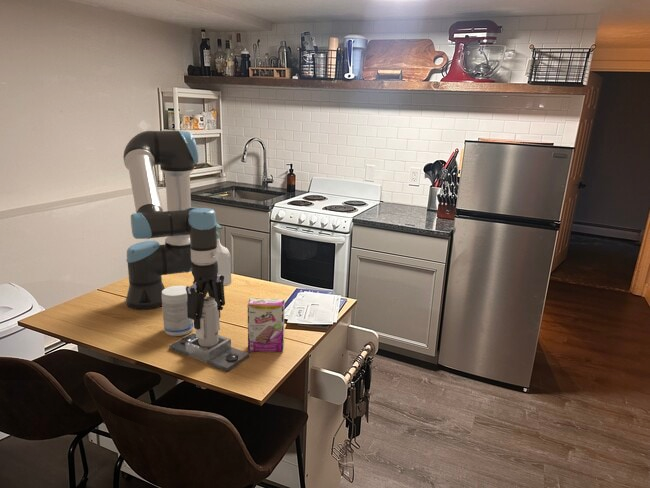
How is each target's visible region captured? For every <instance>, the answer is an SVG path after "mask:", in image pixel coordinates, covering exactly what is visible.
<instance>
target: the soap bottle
mask: <svg viewBox="0 0 650 488" xmlns="http://www.w3.org/2000/svg"><path fill="white" fill-rule="evenodd" d="M222 229H223V227H222V226H221V224H219V223H218V222H217V223H216V230H222ZM216 232H217V262H218V275H222V276H224V282H223V285H224V287H225V286H228V285H231V284H232V266H231V265H232V262H231V261H232V259H231V252H230V251H229V249H228V248H227V247H225V246H223V245H222V244H221V240H220V233H219V232H218V231H216Z"/></svg>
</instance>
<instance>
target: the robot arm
mask: <svg viewBox="0 0 650 488" xmlns="http://www.w3.org/2000/svg"><path fill="white" fill-rule="evenodd" d="M123 164H124V166H125V168H126V169H127V170H128V173H129V179H130V184H131V190H132V196H133V201H134V206H135V213H132V214H131V215H130V226H131V227H130V228H131V234H132V237H133V238H134V239H137V240H141V239H142V240H143V239H144V240H145V239H147V240H145V241H140V242H137V243H134V244H132V245H129V247H128V248H127V250H126V259H125V260H126V263H127V269H128V271H127V272H128V282H129V285H128V290H127V294H126V298H125V305H126V307H128V309H132V310H138V311H139V310H140V311H145V310H153V309H157V308H159V307H160V308H161V307H162V290H164V289H165V288H166V287H165V286H164V283H163V277H162V276H166V275H175V274H185V273H187V274H189V273H190V272H191V275H192V276H193V281H192V285H190V286H189V285H188V286H187V285H186V286H187V287H186V292H187V317H188V318H190V319H193V326H194V327H193V329H195V334H196V337H198V338H200V339H204V322H203V318H201V315H202V309H203V304H204V298H205V297H207V295H208V297H213V298H215V301H216V303H217V314H218V332H219V331H220V330H221V328H220V327H221V325H220V323H221V321H220V319H221V311H222V310H224V306H225V305H226V300H225V299H226V298H225V286H224V285H223V282H224V276H222V275H218V262H217V232H218V231H217V229H216V223H218V221H217V218H216V217H217V215H216V211H215V210H214V209H213V208H210V207H195V206H192V198H191V197H192V196H191V173H192V172H193V171H194V170H195V165H197V164H199V152H198V147H197V142H196V140H195V137H194V135H193V134H192V132H190V131H184V130H145V131H142V132H139V133H137V134H136V135H135V136H133V137H132V138H131V139H130V140H129V142H128V143H126V146H125V148H124V151H123ZM154 165H155V166H158V165H159V167H160V170H161V171H162V173H164V175H165V193H166V209H167V210H165V211H164V209H163V206H162V201H161V196H160V192H159V189H158V184H157V179H156V174H155V170H154ZM165 237H166V238H165ZM155 238H164V243H163V244H160V243H159V241H156V240H148V239H155ZM207 293H208V294H207Z"/></svg>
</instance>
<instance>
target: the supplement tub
mask: <svg viewBox="0 0 650 488" xmlns="http://www.w3.org/2000/svg"><path fill="white" fill-rule="evenodd" d="M186 287H187V285H172V286H171V285H170V286H168V287H165V289H164V290H162V306H161V307H162V316H163V329H164V333H165V334H167V335H168V336H171V337H181V336H185V335H188V334H191V332H193V330H194V320H193V319H190V318H188V317H187V292H186Z"/></svg>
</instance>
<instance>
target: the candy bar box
mask: <svg viewBox="0 0 650 488" xmlns="http://www.w3.org/2000/svg"><path fill="white" fill-rule="evenodd" d="M285 302H286V301H285V299H284V298H250V297H249V300H248V302H247V351H248V353H250V352H253V353H255V352H257V353H258V352H260V353H283V351H284V347H285V305H286V304H285Z"/></svg>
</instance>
